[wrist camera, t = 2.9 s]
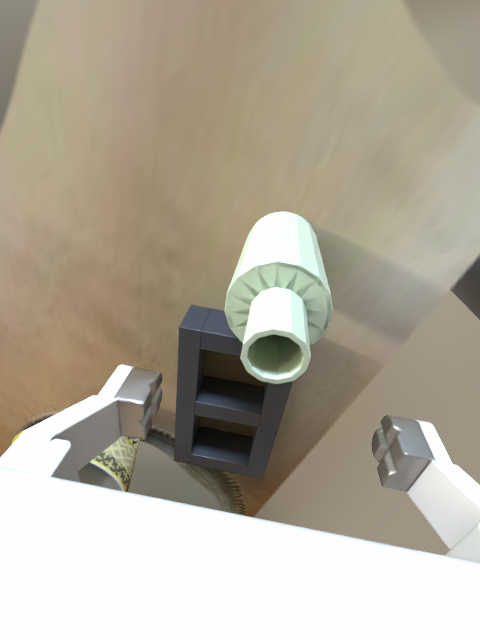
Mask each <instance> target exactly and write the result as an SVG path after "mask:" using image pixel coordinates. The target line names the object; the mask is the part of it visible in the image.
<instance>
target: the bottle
mask: <svg viewBox="0 0 480 640" xmlns="http://www.w3.org/2000/svg"><path fill="white" fill-rule="evenodd" d="M225 315H226V318H227V321H228V324H229V327H230V329H231V330H232V332H233V333H234V334H235V335H236V336H237V337H238V338H239V340H240V341H241V342H242V343H243V346H242V351H241V357H240V358H241V361H242V363H243V365H244V367H245V369H246V371H247V372H248V373H249V374H251V375H252V376H254V377H255V378H257V379H258V380H260V381H263V382H268V383H273V384H281V383H286V382H291V381H294V380H296V379H297V378H298V377H299V376H301V375H302V374H303V373H305V372H306V371H307V368H308V365H309V362H310V359H311V353H310V346H312V345H314V344H315V343H316V342H317V341H318V340H319V339H320V338H321V337H322V336H323V334H324V333H325V332H326V331H327V330H328V327H329V324H330V321H331V318H332V315H333V307H332V299H331V293H330V289H329V285H328V281H327V277H326V273H325V269H324V265H323V261H322V257H321V253H320V249H319V246H318V242H317V238H316V234H315V233H314V231H313V229H312V227H311V226H310V224H309V223H308V222H307V221H306V220H305V219H303V218H302V217H300V216H299V215H296V214H294V213H290V212H275V213H272V214H269V215H267V216H265V217H263V218H261V219H260V220H259V221H258V222H257V223H256V224H255V225H254V227H253V228H252V230H251V231H250V233H249V235H248V237H247V240H246V243H245V245H244V248H243V251H242V254H241V256H240V259H239V262H238V265H237V267H236V270H235V273H234V275H233V278H232V281H231V284H230V286H229V289H228V292H227V296H226V304H225Z"/></svg>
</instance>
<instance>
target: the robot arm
mask: <svg viewBox="0 0 480 640" xmlns="http://www.w3.org/2000/svg"><path fill="white" fill-rule="evenodd" d="M161 382H162V373H160V372H156V371H151V370H147V369H142V368H137V367H131V366H126V365H122V364H121V365H120V366H118V367H117V368H116V370H115V371H114V373H113V374H112V376H111V377H110V378H109V380H108V381H107V383H106V384H105V386H104V387H103V388H102V390H101V391H100V393H99V394H98V396H94V395H93V396H91V397H89V398H87V399H85V400H83V401H81V402H79V403H77V404H75V405H73V406H71V407H69V408H67V409H65V410H63V411H61V412H60V413H58V414H56V415H54V416H52V417H50V418H48V419H46V420H44V421H42V422H40V423H38V424H36V425H34V426H32V427H30V428H28V429H26V430H24V431H23V432H22V433H21V435H20V436H19V437H18V438H17V439H16V440H15V442H14V443H13V444H12V445H11V446H10V447H9V448H8V450H7V451H6V452H5V453H4V454H3V455H2V457H1V458H0V640H480V485H479V484H478V483H477V482H476V481H474V480H473V479H472V478H471V477H470V476H469V475H468V474H467V473H465V472H464V471H463V470H462V469H461V468H460V467H459V466H458V465H454V464H452V462H451V460H450V458H449V456H448V454H447V452H446V450H445V448H444V446H443V444H442V442H441V440H440V438H439V436H438V434H437V432H436V430H435V428H434V426H433V425H432V424H431V423H429V422H424V421H418V420H412V419H407V418H401V417H395V416H389V415H386V416H385V417H384V418H383V419H382V421H381V424H382V427H381V428H379V429H377V430H376V431H375V433H374V436H373V439H372V451H373V455H374V457H375V458H376V459H377V461H378V462H379V463H380V464H379V466H378V467H377V470H378V474H379V477H380V481H381V484H382V487H387V488H391V489H396V490H400V491H405V492H407V494H408V496H409V497H410V498H411V500H412V501H413V502H414V504H415V505H416V506H417V507H418V508H419V510H420V511H421V513H422V514H423V515H424V517H425V518H426V519H427V521H428V522H429V523H430V525H431V526H432V527H433V529H434V530H435V531H436V532H437V534H438V535H439V536H440V538H441V539H442V540H443V542H444V543H445V544H446V546H447V547H448V548H449V551H448V552H447V553H446V554H445V555H438V554H433V553H428V552H423V551H418V550H413V549H408V548H403V547H398V546H393V545H388V544H383V543H378V542H373V541H368V540H363V539H358V538H353V537H348V536H343V535H338V534H333V533H328V532H323V531H318V530H313V529H308V528H303V527H298V526H293V525H288V524H283V523H278V522H273V521H268V520H264V519H258V518H254V517H249V516H244V515H239V514H234V513H229V512H224V511H218V510H214V509H209V508H204V507H199V506H194V505H189V504H184V503H179V502H174V501H169V500H164V499H159V498H154V497H149V496H144V495H139V494H134V493H129V492H124V491H119V490H114V489H109V488H104V487H99V486H95V485H90V484H85V483H80V479H79V475H78V471H79V470H80V469H81V468H83V467H84V466H85V465H86V464H88V463H89V462H90V461H91V460H93V459H94V458H95V457H97V456H98V455H99V454H100V453H102V452H103V451H104V450H106V449H107V448H108V447H109V446H111V445H112V444H113V443H115V442H116V441H117V440H118V439H120V438H121V436H124V437H130V438H136V439H142V440H145V438H146V436H147V434H148V432H149V430H150V427H151V425H152V417H153V416H155V415H156V414H157V412H158V409H159V406H160V403H161V398H162V389H161V387H160V384H161Z"/></svg>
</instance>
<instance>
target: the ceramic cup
mask: <svg viewBox="0 0 480 640" xmlns="http://www.w3.org/2000/svg"><path fill="white" fill-rule="evenodd" d="M97 396H98V395H97ZM21 433H22V432H21ZM21 433H19V434H17V435H16V436H15V437H14V439H13V440H12V443H11V445H12V444H13V443H14V442H15V440H16V439H17V438H18V437H19V436H20V435H21ZM139 441H140V439H136V438H130V437H124V436H121V438H120V439H118V440H117V441H116V442H115V443H113V444H112V445H111V446H109V447H108V448H107V449H106V450H104V451H103V452H102V453H100V454H99V455H98V456H97V457H95V458H94V459H93V460H91V461H90V462H89V463H88V464H86V465H85V466H84V467H83V468H81V469H80V470H79V471H78V475H79V479H80V483H85V484H90V485H95V486H99V487H104V488H109V489H114V490H119V491H124V492H127V491H128V488H129V485H130V481H131V477H132V473H133V469H134V463H135V458H136V452H137V448H138V445H139Z"/></svg>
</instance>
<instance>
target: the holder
mask: <svg viewBox="0 0 480 640" xmlns="http://www.w3.org/2000/svg"><path fill="white" fill-rule="evenodd" d="M242 346H243V343H242V342H241V341H240V340H239V338H238V337H237V336H236V335H235V334H234V333H233V332H232V330H231V329H230V327H229V324H228V321H227V318H226V315H225V311H221V310H216V309H210V308H204V307H199V306H194V305H191V306H190V308H189V310H188V312H187V314H186V315H185V317H184V319H183V321H182V323H181V325H180V327H179V346H178V372H177V398H176V424H175V451H174V461H177V462H182V463H187V464H192V465H197V466H202V467H207V468H211V469H216V470H221V471H226V472H231V473H236V474H241V475H246V476H250V477H255V478H260V479H263V476H264V473H265V469H266V466H267V463H268V460H269V456H270V453H271V450H272V447H273V443H274V440H275V437H276V434H277V430H278V427H279V424H280V421H281V417H282V414H283V411H284V408H285V405H286V401H287V398H288V395H289V392H290V388H291V385H292V382H293V381H291V382H286V383H281V384H273V383H268V382H265V386H264V387H260V386H255V385H250V384H245V383H240V382H234V381H229V380H224V379H219V378H214V377H209V376H204V373H205V363H206V353H207V350H208V351H213V352H219V353H224V354H229V355H234V356H240V357H241V351H242ZM200 416H203V417H208V418H213V419H218V420H223V421H228V422H233V423H238V424H243V425H248V426H253V427H254V431H253V435H252V437H248V436H243V435H238V434H233V433H228V432H223V431H218V430H213V429H208V428H203V427H199V423H200Z"/></svg>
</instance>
